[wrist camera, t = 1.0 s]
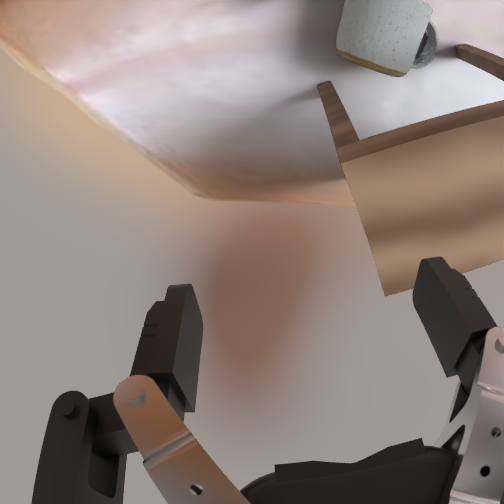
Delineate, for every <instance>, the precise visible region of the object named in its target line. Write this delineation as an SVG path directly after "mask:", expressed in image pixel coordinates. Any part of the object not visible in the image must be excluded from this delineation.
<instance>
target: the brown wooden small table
mask: <svg viewBox="0 0 504 504" xmlns="http://www.w3.org/2000/svg"><path fill="white" fill-rule="evenodd" d="M455 47H456V50H457V54H458V57H459V59H461V60H463V61H465V62H467V63H469V64H472V65H474V66H476V67H478V68H480V69H482V70H484V71H486V72H488V73H490V74H492V75H494V76H496V77H497V78H499V79H501V80H503V81H504V58H501V57H499V56H496V55H494V54H492V53H489V52H486V51H484V50H481V49H479V48H476V47H473V46H470V45H468V44H463V45H458V46H455ZM317 87H318V90H319V93H320V96H321V99H322V102H323V106H324V109H325V112H326V115H327V119H328V122H329V125H330V129H331V132H332V136H333V139H334V143H335V146H336V150H337V153H338V157H339V161H340V164H341V167H342V169H343V172H344V175H345V177H346V180H347V182H348V185H349V188H350V190H351V193H352V196H353V198H354V201H355V204H356V207H357V209H358V212H359V215H360V218H361V221H362V224H363V226H364V230H365V233H366V236H367V239H368V242H369V245H370V248H371V251H372V254H373V258H374V261H375V264H376V267H377V271H378V274H379V277H380V281H381V284H382V288H383V291H384V295H385V296H388V295H392V294H396V293H399V292H403V291H406V290H410V289H413V288H414V285H415V281H416V277H417V273H418V269H419V265H420V262H421V260H422V259H424V258H432V257H439V256H441V257H443V258H444V259H445V261H446V262H447V264H448V265H449V266H450V268H451V269H456V270H457V271H458V272H459V273H461V274H462V273H465V272H468V271H471V270H474V269H477V268H480V267H483V266H486V265H489V264H492V263H495V262H498V261H500V260H503V259H504V100H502V101H498V102H494V103H489V104H485V105H481V106H477V107H473V108H469V109H465V110H461V111H458V112H454V113H450V114H446V115H443V116H439V117H435V118H432V119H428V120H425V121H421V122H418V123H414V124H411V125H408V126H404V127H401V128H398V129H394V130H391V131H388V132H385V133H382V134H378V135H375V136H372V137H369V138H366V139H363V140H360V141H359V138H358V136H357V134H356V132H355V130H354V127H353V125H352V123H351V121H350V119H349V117H348V115H347V113H346V111H345V109H344V106H343V104H342V102H341V100H340V98H339V96H338V95H337V93H336V91H335V89H334V87H333V85H332V83H331V81H328V82H325V83H322V84H320V85H317Z"/></svg>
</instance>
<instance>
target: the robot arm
mask: <svg viewBox="0 0 504 504" xmlns="http://www.w3.org/2000/svg"><path fill="white" fill-rule="evenodd" d="M413 303H414V307H415V309H416V311H417V313H418V315H419V317H420V319H421V321H422V323H423V325H424V327H425V330H426V332H427V334H428V336H429V338H430V340H431V343H432V345H433V347H434V349H435V351H436V354H437V356H438V358H439V360H440V363H441V365H442V367H443V369H444V372H445V374H446V377H447V378H448V377H451V376H455V375H458V376H459V378H460V380H459V382H458V384H457V387H456V390H455V394H454V397H453V401H452V404H451V407H450V410H449V413H448V416H447V419H446V422H445V425H444V428H443V430H442V432H441V434H440V435H439V437H438V438H437V440H436V442H435V444H434V446H424V444H423V441H422V438H419V439H416V440H413V441H409V442H405V443H401V444H398V445H394V446H390V447H387V448H385V449H383V450H381V451H379V452H377V453H375V454H373V455H371V456H369V457H367V458H365V459H363V460H360V461H358V462H356V463H334V462H333V463H332V462H321V461H308V462H299V463H289V464H278V465H275V472H273V473H270V474H267V475H265V476H262V477H260V478H258V479H256V480H255V481H252V482H251V483H249V484H248V485H247V486H245V487H244V488H243V489H241V490H240V491H239V490H238V489H237V488H236V487H235V486H234V484H233V483H232V482H231V481H230V480H229V479H228V478H227V476H226V475H225V474H224V473H223V472H222V471H221V469H220V468H219V467H218V466H217V465H216V464H215V462H214V461H213V460H212V459H211V457H210V456H209V455H208V454H207V452H206V451H205V450H204V449H203V447H202V446H201V445H200V444H199V442H198V441H197V440H196V438H195V437H194V436H193V435H192V433H191V432H190V431H189V430H188V428H187V427H186V426H185V424H184V423H183V421H184V413H185V412H195V404H196V393H197V383H198V373H199V363H200V354H201V345H202V336H203V321H202V315H201V312H200V309H199V306H198V303H197V299H196V296H195V293H194V290H193V286H192V285H191V284H180V285H170V286H169V287H168V289H167V293H166V297H165V301H157V302H155V303H154V305H153V306H152V307H151V309H150V310H149V311H148V312H147V315H146V319H145V322H144V327H143V329H142V333H141V337H140V340H139V344H138V347H137V351H136V355H135V359H134V362H133V366H132V370H131V374H130V376H129V377H128V378H126V379H124V380H123V381H121V382H120V383H119V384H118V386H117V387H116V389H115V391H114V392H113V393H110V394H106V395H102V396H99V397H95V398H90V399H88V398H87V397H86V396H85V395H84V394H82V393H81V392H78V391H68V392H66V393H63V394H62V395H60V396H59V397H58V398H57V399H56V401H55V402H54V404H53V406H52V410H51V413H50V417H49V421H48V424H47V428H46V433H45V437H44V441H43V445H42V450H41V454H40V459H39V464H38V469H37V474H36V479H35V485H34V492H33V497H32V504H123V493H124V480H125V470H126V460H127V454H129V453H133V452H138V451H140V453H141V455H142V457H143V459H144V461H143V464H144V467H145V469H146V471H147V472H148V474H149V476H150V477H151V479H152V480H153V482H154V483H155V485H156V487H157V488H158V490H159V491H160V492H161V494H162V495H163V497H164V498H165V500H166V501H167V503H168V504H504V327H498V326H497V325H496V323H495V322H494V320H493V318H492V317H491V315H490V314H489V312H488V311H487V309H486V307H485V306H484V304H483V303H482V301H481V300H480V298H479V297H477V294H476V292H475V291H474V289H472V286H471V285H470V283H469V282H468V281H467V279H466V278H465V276H463V275H462V274H461V273H459V272H458V271H457V270H456V269H451V268H450V266H449V265H448V264H447V262H446V261H445V259H444V258H443V257H441V256H439V257H432V258H424V259H422V260H421V262H420V265H419V269H418V273H417V277H416V281H415V285H414V289H413Z"/></svg>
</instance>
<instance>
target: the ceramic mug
mask: <svg viewBox="0 0 504 504" xmlns="http://www.w3.org/2000/svg"><path fill="white" fill-rule="evenodd" d="M431 14H432V7H431V6H430V5H429V4H427V3H426V2H424V1H422V0H345V3H344V7H343V11H342V17H341V21H340V24H339V28H338V32H337V39H336V49H337V51H338V53H339V54H340V55H341V56H342V57H344V58H346V59H347V60H349V61H352V62H354V63H356V64H359V65H361V66H363V67H366V68H369V69H372V70H374V71H377V72H380V73H383V74H386V75H390V76H395V77H401V76H404V75H406V73H407V72H408V71H409V69H410V68H415V69H416V68H422V67H424V66H426V65H427V64H428V63H430V62H431V60H432V59H433V57H434V56H435V54H436V52H437V49H438V44H439V36H438V32H437V30H436V28H435V26H434V25H433V23H432V22H431V21H430V20H429V19H430V17H431ZM426 29H427V33H428V36H427V42H426V44H425V46H424V48H423V51H422V52H421V53H420V56H419V57H418V58H417V59H415V57H416V54H417V51H418V47H419V45H420V42H421V40H422V38H423V35H424V33H425V30H426ZM414 59H415V60H414Z"/></svg>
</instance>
